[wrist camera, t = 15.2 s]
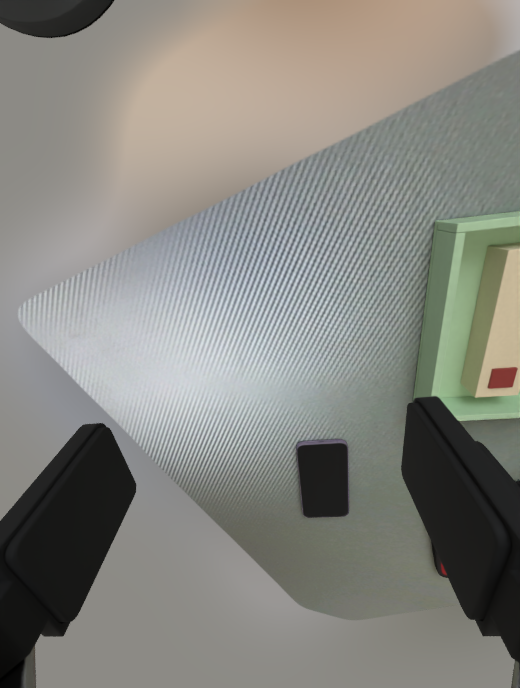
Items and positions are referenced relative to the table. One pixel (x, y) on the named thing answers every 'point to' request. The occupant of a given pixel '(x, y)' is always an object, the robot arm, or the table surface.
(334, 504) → the smartphone
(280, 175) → the table surface
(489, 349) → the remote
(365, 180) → the table surface
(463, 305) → the bin
